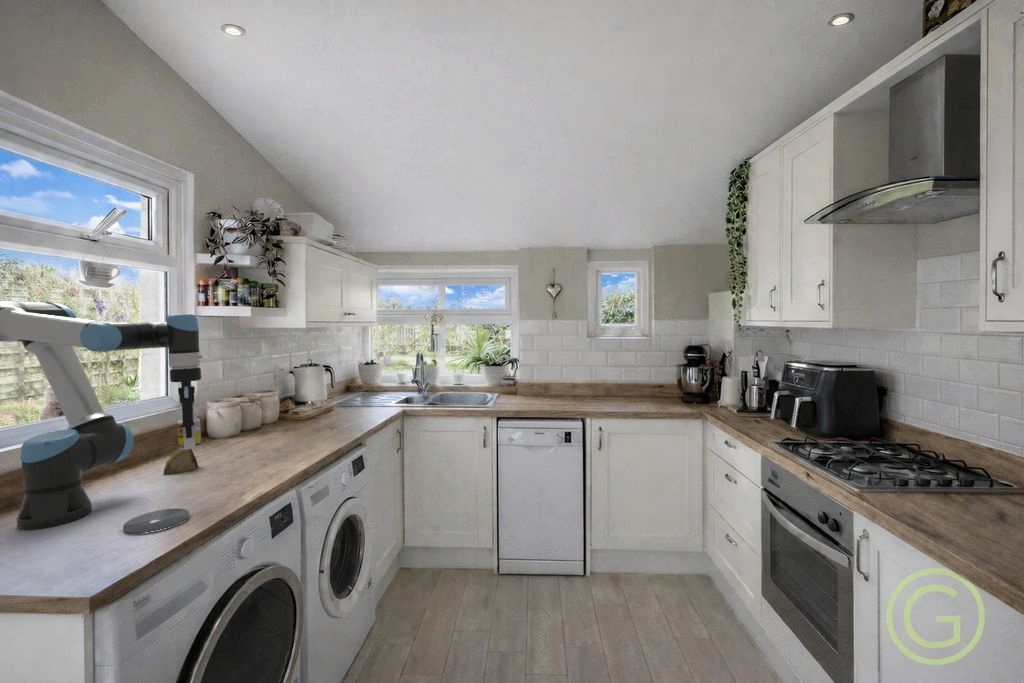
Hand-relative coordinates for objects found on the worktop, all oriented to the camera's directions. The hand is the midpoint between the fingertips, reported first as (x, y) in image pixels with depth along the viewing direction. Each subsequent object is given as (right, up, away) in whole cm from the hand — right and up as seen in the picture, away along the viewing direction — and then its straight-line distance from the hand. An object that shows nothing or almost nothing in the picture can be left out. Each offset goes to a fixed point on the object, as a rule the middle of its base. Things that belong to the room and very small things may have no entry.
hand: (190, 446), depth 143 cm
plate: (0, -17, -14) cm, 22 cm away
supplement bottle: (0, -1, 0) cm, 1 cm away
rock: (-26, -16, +34) cm, 46 cm away
